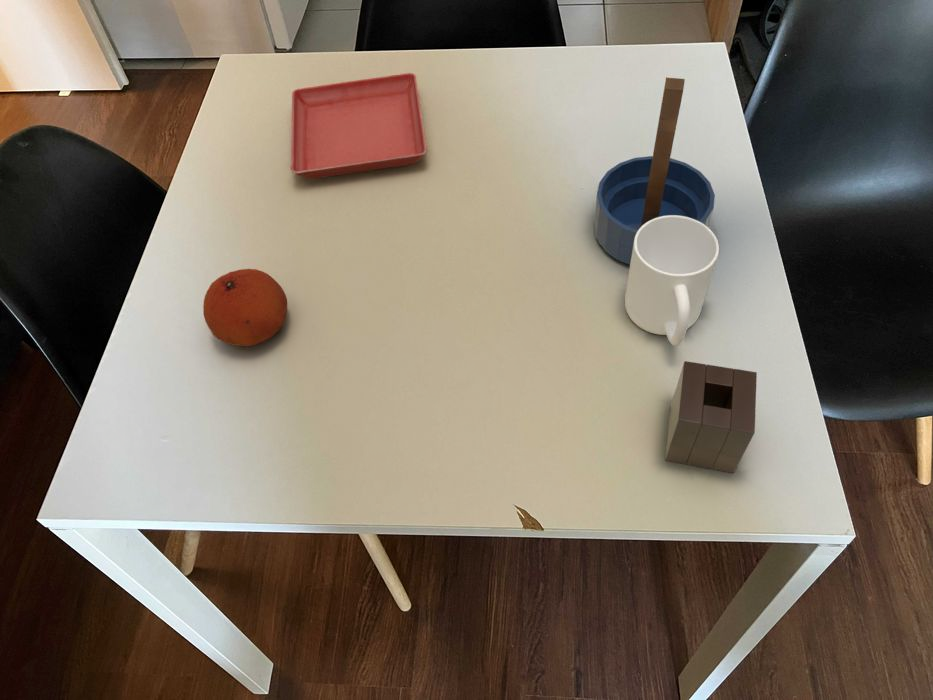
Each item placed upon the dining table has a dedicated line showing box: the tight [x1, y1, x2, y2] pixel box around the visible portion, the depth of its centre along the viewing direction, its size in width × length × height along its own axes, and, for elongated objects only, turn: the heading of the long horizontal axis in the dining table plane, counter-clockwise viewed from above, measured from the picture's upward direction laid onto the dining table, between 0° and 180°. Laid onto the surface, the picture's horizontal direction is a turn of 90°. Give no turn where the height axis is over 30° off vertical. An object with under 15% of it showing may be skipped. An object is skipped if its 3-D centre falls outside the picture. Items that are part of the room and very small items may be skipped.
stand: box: [664, 360, 758, 474], centre depth 67 cm, size 6×6×8 cm
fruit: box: [202, 268, 288, 347], centre depth 80 cm, size 9×9×8 cm
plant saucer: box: [290, 72, 428, 179], centre depth 100 cm, size 18×18×3 cm
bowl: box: [593, 155, 716, 266], centre depth 84 cm, size 13×13×6 cm
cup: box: [624, 215, 720, 347], centre depth 75 cm, size 8×12×10 cm
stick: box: [641, 77, 686, 227], centre depth 78 cm, size 2×2×20 cm
